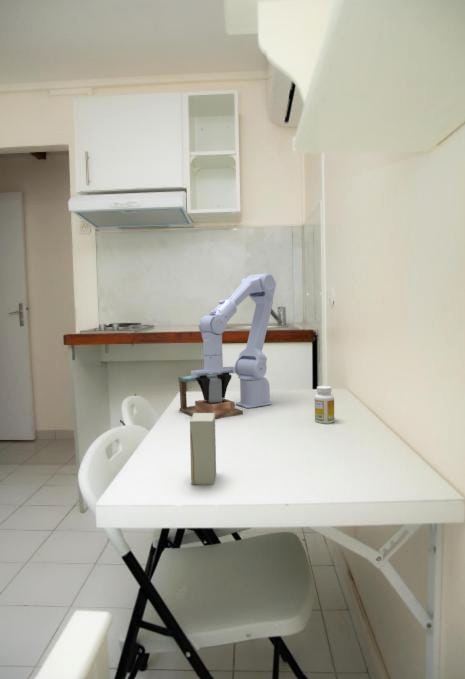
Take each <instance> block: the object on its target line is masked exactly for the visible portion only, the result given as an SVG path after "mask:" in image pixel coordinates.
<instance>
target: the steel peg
mask: <svg viewBox="0 0 465 679" xmlns="http://www.w3.org/2000/svg"><path fill="white" fill-rule="evenodd" d="M209 379H210V384H209V400H208V404H210V405H211V404H218V403H222V381H221V379H220V378H209Z"/></svg>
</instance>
